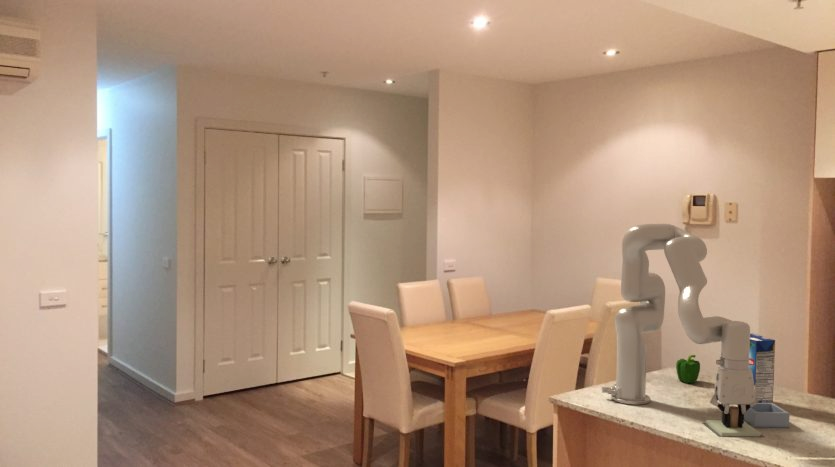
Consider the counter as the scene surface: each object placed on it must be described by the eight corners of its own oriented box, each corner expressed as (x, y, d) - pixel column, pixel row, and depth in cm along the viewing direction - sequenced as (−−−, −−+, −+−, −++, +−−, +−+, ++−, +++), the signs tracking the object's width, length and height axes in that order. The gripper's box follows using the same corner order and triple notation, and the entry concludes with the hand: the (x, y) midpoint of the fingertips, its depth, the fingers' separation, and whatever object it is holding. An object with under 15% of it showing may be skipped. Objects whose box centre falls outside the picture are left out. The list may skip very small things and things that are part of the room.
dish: (754, 429, 206) (755, 412, 206) (739, 418, 216) (740, 402, 216) (788, 429, 206) (789, 413, 206) (771, 418, 216) (772, 402, 216)
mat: (718, 438, 198) (718, 436, 198) (701, 424, 210) (701, 422, 210) (764, 439, 198) (764, 437, 198) (745, 425, 210) (745, 423, 210)
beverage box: (754, 407, 227) (756, 340, 226) (732, 398, 238) (735, 334, 237) (772, 406, 228) (775, 340, 227) (750, 397, 239) (753, 333, 238)
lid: (721, 436, 199) (722, 413, 198) (705, 423, 210) (706, 401, 209) (760, 436, 199) (761, 413, 198) (742, 423, 210) (743, 401, 209)
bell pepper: (678, 384, 255) (679, 357, 254) (673, 378, 263) (674, 352, 262) (702, 385, 253) (703, 358, 253) (697, 379, 262) (698, 353, 261)
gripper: (711, 367, 199) (709, 430, 201) (769, 367, 199) (766, 430, 200) (701, 360, 207) (699, 421, 208) (756, 361, 207) (754, 422, 208)
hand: (732, 425), depth 204 cm, fingers closed on lid, 3 cm apart
